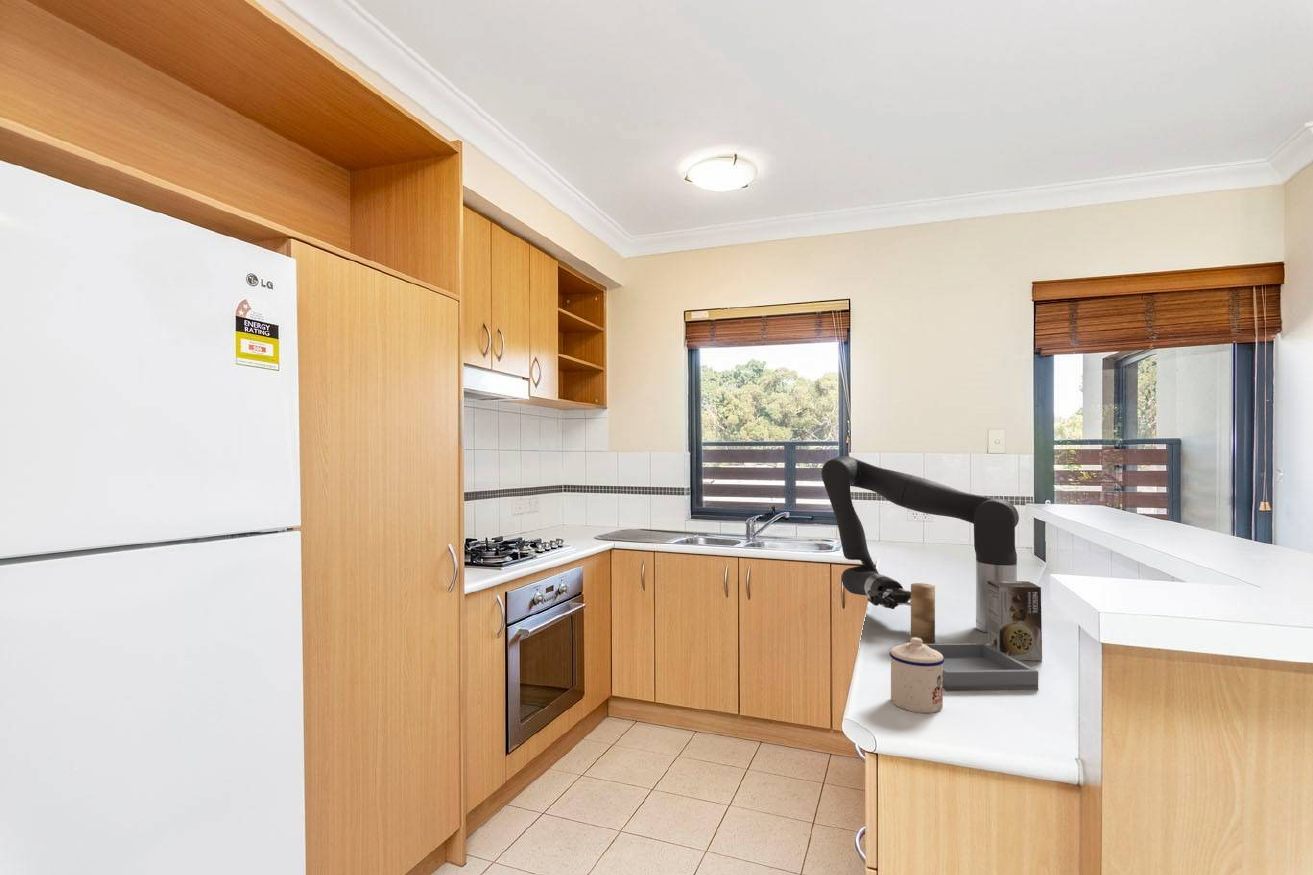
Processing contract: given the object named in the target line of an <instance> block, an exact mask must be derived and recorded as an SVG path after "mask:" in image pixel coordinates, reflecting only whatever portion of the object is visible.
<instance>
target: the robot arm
mask: <svg viewBox="0 0 1313 875" xmlns="http://www.w3.org/2000/svg"><path fill="white" fill-rule="evenodd" d="M820 474H821V479H822V482H823V483H822V484H823V485H824V488H825V490H826V493H827V496H828V498H829V502H830V506H831V507H832V510H833V514H834V517H835V521H836V524H837V529H838V532H839V534H838V535H839V537H840V543H841V548H842V555H843V557H844V558H845V559H846V560H850V561H860V562H861V565H856V566H854V567H849V568H846V569H844V570H843V572H842V574H841V578H840V579H841V583H842V585H843V587H844V589H845V590H847V592H849V593H851V594H853V595H860V596H866V597H867V598H866V600H867V602H869V603H871V604H872V605H873V606H875V607H877V606H879V605H880V606H881V607H883V608H886V609H891V610H895V608H896V607H898V606H903V605H905V606H910V607H911V590H906V589H905V588H904V587H903V585H901V583H900V582H899V581H897V580H895V579H893V578H892V577H889V576H888V575H884V574H881V573H879V571H878V569H877V567H876V566H875V564H874V561H873V559H872V556H871V554H870V552H869V549H868V545H867V540H866V534H865V529H864V527H863V524H862V522H861V520H860V517H859V516H858V513H857V512H856V510H855V507H854V505H853V500H852V495H851V487H854V488H860V489H865V490H868V491H870V492H874V493H876V494H878V495H880V496H881V497H883V498H884V499H886V500H887V501H889V502H891V503H893V504H894V505H897V506H899V507H902V508H904V509H908V510H911V511H915V512H918V513H923V514H928V515H934V516H940V517H941V516H942V517H950V518H954V519H955V518H956V519H959V520H961V521H965V522H967V523H970V524H973V545H974V546H973V547H974V552H975V628H976V630H978V631H980V632H984V633H987V634H988V581H1018V566H1017V565H1018V553H1017V550H1016V527H1017V526H1018V523H1019V519H1020V515H1019V513H1018V512H1019V511H1018V510H1017V507H1016V506H1014V505H1013V504H1012V503H1011V502H1010V501H1008V500H1006V499H1003V498H997V497H992V496H991V497H990V496H984V495H978V494H973V493H969V492H966V491H962V490H959V489H956V488H953V487H951V486H948V485H946V484H942V483H940V482H937V481H933V480H931V479H927V478H923V477H920V476H916V475H912V474H909V473H905V472H900V471H895V470H892V469H887V468H884V467H883V468H882V467H878V466H875V465H873V464H870V463H867V462H864V461H862V460H861V459H857V458H854V457H853V456H848V455H840V456H836V457H834V458H832V459H829V460H827V461H826V462H825V463H824V464H823V466H822V467H821V473H820ZM909 601H910V602H909Z"/></svg>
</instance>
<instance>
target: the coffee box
mask: <svg viewBox="0 0 1313 875" xmlns="http://www.w3.org/2000/svg"><path fill="white" fill-rule="evenodd" d="M1042 617H1043V616H1042V587H1041V586H1039V585H1037V584H1035V583H1033V582H1030V581H1025V580H1024V581H1022V580H1019V581H1018V580H1017V581H988V633H987V637H988V640H987V645H989V646H991V647H993V648H995V649H997V650H999V651H1001V652H1002V653H1004V654H1006V655H1008V656H1010V657H1012V658H1014V659H1016V660H1018V661H1038V662H1039V661H1041V662H1042V661H1043V635H1042V634H1043V632H1042V623H1043V622H1042Z"/></svg>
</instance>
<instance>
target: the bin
mask: <svg viewBox="0 0 1313 875" xmlns="http://www.w3.org/2000/svg"><path fill="white" fill-rule="evenodd" d="M925 645H927V646H928V647H930V648H931V649H934V650H936V651H938V652H940V653H941V654H942V655H943V658H944V662H943V691H946V692H968V691H969V692H973V691H974V692H975V691H976V692H977V691H979V692H980V691H985V692H986V691H1033V690H1034V691H1038V690H1039V671H1038V670H1037V669H1036V668H1033V667H1031V666H1029V665H1027V664H1025V663H1023V662H1022V661H1021V660H1016V659H1014V658H1012V657H1010V656H1008V655H1006V654H1004V653H1002V652H1001V651H999V650H997V649H995V648H993V647H991V646H989V645H988V643H985V642H976V643H974V642H973V643H971V642H970V643H969V642H968V643H962V642H960V643H955V642H954V643H952V642H951V643H935V644H925Z"/></svg>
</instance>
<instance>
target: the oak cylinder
mask: <svg viewBox="0 0 1313 875" xmlns="http://www.w3.org/2000/svg"><path fill="white" fill-rule="evenodd" d="M910 591H911V606H910V639H911V638H913V637H916V638H920V639H922V641H923V643H922V644H936V586H935V585H934V584H929V583H925V582H923V583H922V582H919V583H918V582H915V583H914V582H913V583H911V584H910Z"/></svg>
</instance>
